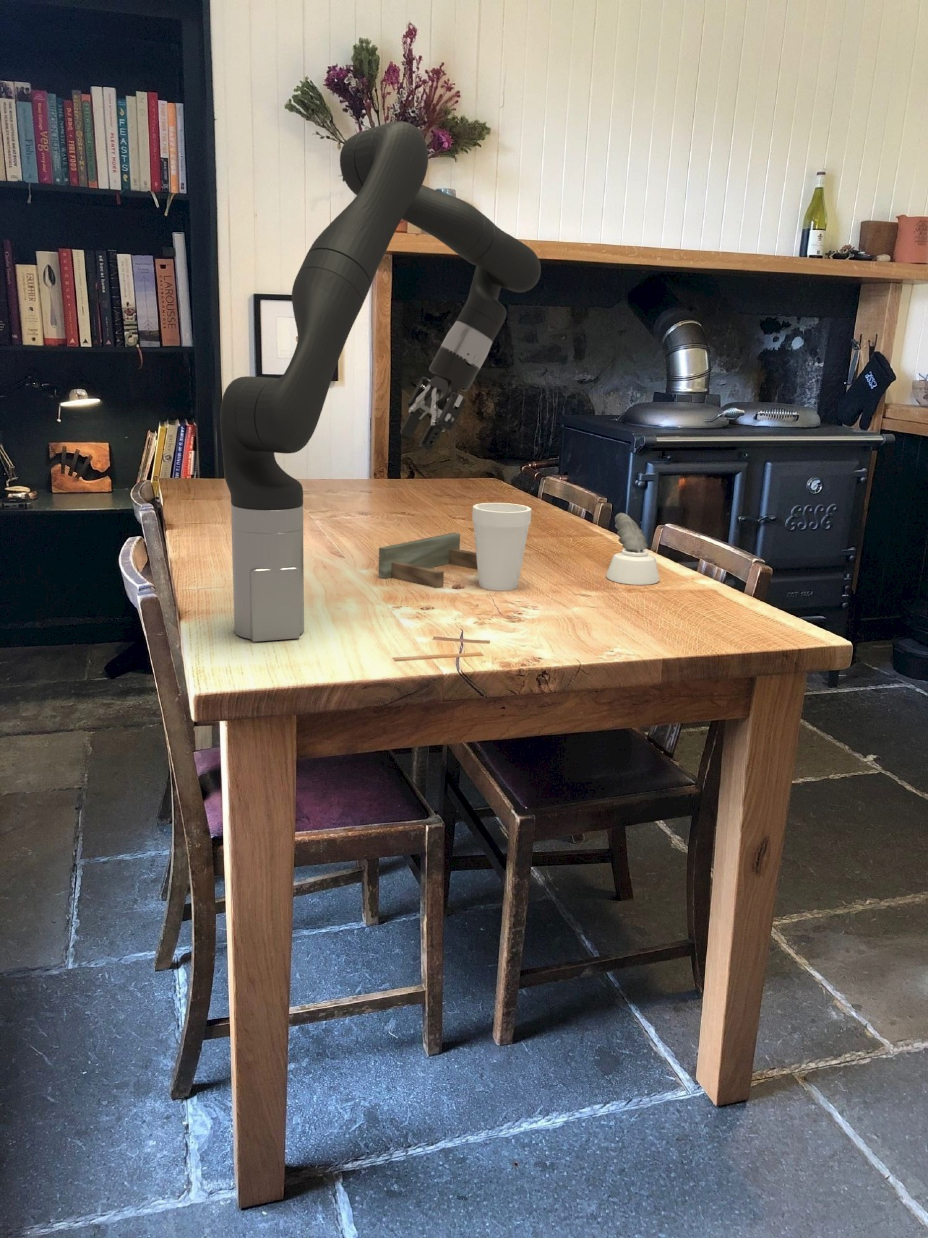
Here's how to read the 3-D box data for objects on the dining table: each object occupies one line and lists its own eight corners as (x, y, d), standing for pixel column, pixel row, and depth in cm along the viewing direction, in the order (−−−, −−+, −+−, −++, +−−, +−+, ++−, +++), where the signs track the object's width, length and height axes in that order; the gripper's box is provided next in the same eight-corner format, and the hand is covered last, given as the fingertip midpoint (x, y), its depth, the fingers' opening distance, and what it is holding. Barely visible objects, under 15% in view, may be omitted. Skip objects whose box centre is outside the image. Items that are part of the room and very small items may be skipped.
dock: (503, 570, 173) (505, 542, 171) (431, 589, 157) (432, 559, 156) (452, 559, 179) (453, 532, 178) (378, 577, 164) (379, 547, 163)
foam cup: (493, 576, 168) (497, 500, 164) (537, 586, 162) (542, 508, 159) (458, 585, 161) (461, 506, 157) (503, 596, 155) (507, 514, 152)
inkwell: (615, 585, 165) (620, 527, 162) (584, 562, 182) (588, 508, 179) (667, 585, 166) (673, 527, 164) (631, 562, 183) (636, 509, 181)
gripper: (426, 337, 167) (381, 422, 170) (462, 352, 156) (413, 442, 158) (460, 359, 172) (415, 441, 174) (497, 374, 160) (448, 462, 163)
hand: (414, 441), depth 166 cm, fingers open, 8 cm apart
